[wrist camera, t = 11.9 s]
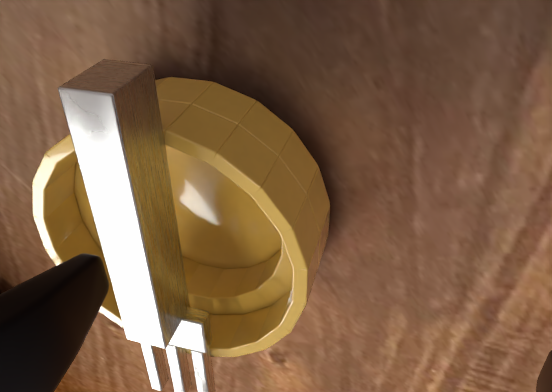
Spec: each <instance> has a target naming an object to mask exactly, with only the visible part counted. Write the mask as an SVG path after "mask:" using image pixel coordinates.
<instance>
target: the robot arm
mask: <svg viewBox="0 0 552 392" xmlns="http://www.w3.org/2000/svg"><path fill="white" fill-rule="evenodd" d="M108 289H109V281H108V278H107V274H106V271H105V267H104V264H103V261H102V259H101V258H100V257H99V256H96V255H91V254H86V253H82V254H79V255H77V256H75V257H73V258H71V259H69V260H67V261H65V262H63V263H61V264H59V265H57V266H55V267H53V268H51V269H49V270H47V271H45V272H43V273H41V274H39V275H37V276H35V277H33V278H31V279H29V280H27V281H25V282H23V283H21V284H19V285H17V286H15V287H13V288H11V289H9V290H7V291H5V292H3V293H1V294H0V392H54V391H55V389H56V388H57V386H58V384H59V383H60V381H61V380H62V378H63V376H64V375H65V373H66V372H67V370H68V368H69V367H70V365H71V364H72V362H73V360H74V359H75V357H76V355H77V353H78V352H79V350H80V348H81V346H82V344H83V342H84V340H85V338H86V336H87V334H88V332H89V330H90V328H91V326H92V324H93V322H94V320H95V318H96V316H97V314H98V312H99V310H100V308H101V305H102V303H103V301H104V299H105V297H106V295H107V293H108ZM536 392H552V351H551V352H550V353H549V355H548V357H547V359H546V361H545V363H544V366H543V368H542V370H541V372H540V374H539V377H538V380H537V387H536Z"/></svg>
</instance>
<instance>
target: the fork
mask: <svg viewBox="0 0 552 392" xmlns="http://www.w3.org/2000/svg"><path fill="white" fill-rule="evenodd" d="M58 91H59V95H60V98H61V102H62V106H63V109H64V113H65V116H66V120H67V124H68V127H69V131H70V135H71V138H72V142H73V145H74V149H75V153H76V156H77V160H78V164H79V167H80V171H81V175H82V178H83V182H84V185H85V189H86V193H87V196H88V200H89V204H90V207H91V211H92V214H93V218H94V222H95V225H96V229H97V233H98V236H99V240H100V243H101V247H102V251H103V254H104V258H105V262H106V265H107V269H108V272H109V276H110V280H111V283H112V287H113V291H114V294H115V298H116V301H117V305H118V309H119V312H120V316H121V320H122V323H123V327H124V330H125V334H126V338H127V339H128V340H132V341H136V342H140V343H141V347H142V351H143V355H144V359H145V363H146V367H147V371H148V375H149V379H150V383H151V386H152V388H153V389H156V390H160V391H162V390H163V388H164V386H165V384H166V382H167V381H168V373H167V369H166V364H165V359H164V355H163V350H162V348H164V349H166V353H167V357H168V362H169V367H170V372H171V376H172V381H173V386H174V391H175V392H188V391H189V389H190V387H191V385H192V383H191V377H190V372H189V366H188V360H187V354H186V349H190V350H191V354H192V360H193V366H194V372H195V378H196V384H197V390H198V392H215V383H214V376H213V368H212V360H211V353H210V345H211V343H212V341H213V339H212V331H211V323H210V315H209V312H208V311H205V310H201V309H197V308H192V307H190V302H189V296H188V289H187V283H186V276H185V270H184V263H183V257H182V250H181V244H180V237H179V231H178V224H177V218H176V211H175V205H174V199H173V192H172V186H171V179H170V173H169V166H168V160H167V153H166V147H165V140H164V134H163V127H162V121H161V114H160V108H159V101H158V95H157V88H156V82H155V75H154V69H153V65H152V64H143V63H134V62H124V61H115V60H106V59H103V60H101V61H100V62H98V63H97V64H95V65H93V66H92V67H90V68H89V69H87V70H85V71H84V72H82V73H81V74H79V75H77V76H76V77H74V78H72V79H71V80H69V81H68V82H66V83H64V84H63V85H61V86H60V87H59V88H58ZM185 348H186V349H185Z"/></svg>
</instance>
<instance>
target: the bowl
mask: <svg viewBox="0 0 552 392" xmlns="http://www.w3.org/2000/svg"><path fill="white" fill-rule="evenodd" d="M155 82H156V88H157V95H158V101H159V108H160V114H161V121H162V127H163V134H164V140H165V147H166V153H167V160H168V166H169V173H170V179H171V186H172V192H173V199H174V205H175V211H176V218H177V224H178V231H179V237H180V244H181V250H182V257H183V263H184V270H185V276H186V283H187V289H188V296H189V302H190V307H192V308H197V309H201V310H205V311H208V312H209V315H210V323H211V331H212V339H213V341H212V343H211V345H210V353H211V357H238V356H242V355H246V354H250V353H254V352H258V351H262V350H265V349H268V348H269V347H270V346H272V345H273V344H275V343H276V342H278V341H279V340H280V339H282V338H283V337H285V336H286V335H288V334H289V333H290V332H291V331H292V330H293V328H294V326H295V324H296V323H297V321H298V319H299V317H300V315H301V314H302V312H303V310H304V308H305V306H306V304H307V301H308V298H309V295H310V292H311V289H312V285H313V282H314V279H315V276H316V273H317V270H318V266H319V263H320V260H321V257H322V254H323V251H324V248H325V245H326V242H327V238H328V230H329V216H330V201H329V198H328V195H327V192H326V188H325V185H324V182H323V179H322V175H321V172H320V169H319V167H318V164H317V163H316V162H315V160H314V159H313V157H312V156H311V154H310V153H309V152H308V150H307V149H306V147H305V146H304V144H303V143H302V142H301V140H300V139H299V137H298V136H297V134H296V133H295V132H294V131H293V129H292V128H291V127H289V126H288V125H287V124H286V123H284V122H283V121H282V120H281V119H279V118H278V117H277V116H276V115H274V114H273V113H272V112H271V111H270V110H268V109H267V108H266V107H265V106H263V105H262V104H261V103H260V102H258V101H256V100H255V99H253V98H250V97H248V96H246V95H243V94H241V93H239V92H236V91H234V90H232V89H229V88H227V87H225V86H222V85H220V84H218V83H215V82H212V81H203V80H194V79H186V78H177V77H167V78H163V79H159V80H155ZM32 209H33V218H34V221H35V223H36V226H37V229H38V232H39V234H40V237H41V240H42V243H43V245H44V248H45V250H46V252H47V253H48V255H49V256H50V258H51V259H52V261H53V262H54V263H55V265H56V266H57V265H59V264H61V263H63V262H65V261H67V260H69V259H71V258H73V257H75V256H77V255H79V254H82V253H86V254H91V255H96V256H99V257H100V258H101V259H102V261H103V264H104V267H105V271H106V274H107V278H108V281H109V289H108V293H107V295H106V297H105V299H104V301H103V303H102V305H101V308H100V310H99V312H100V313H102V314H103V315H105V316H106V317H108V318H109V319H111V320H112V321H114V322H115V323H117V324H118V325H119V326H121V327H122V328H124V327H123V323H122V320H121V316H120V312H119V309H118V305H117V301H116V298H115V294H114V291H113V287H112V283H111V280H110V276H109V272H108V269H107V265H106V262H105V258H104V254H103V251H102V247H101V243H100V240H99V236H98V233H97V229H96V225H95V222H94V218H93V214H92V211H91V207H90V204H89V200H88V196H87V193H86V189H85V185H84V182H83V178H82V175H81V171H80V167H79V164H78V160H77V156H76V153H75V149H74V145H73V142H72V138H71V135H70V134H68V135H67V136H66V137H64V138H63V139H62V140H61V141H59V142H58V143H57V144H55V145H54V146H53V147H51V148H50V149H49V150H47V151H46V153H45V154H44V156H43V158H42V161H41V163H40V165H39V167H38V169H37V172H36V174H35V176H34V178H33V180H32ZM185 349H186V348H185ZM186 353H188V354H191V350H190V349H186Z"/></svg>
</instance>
